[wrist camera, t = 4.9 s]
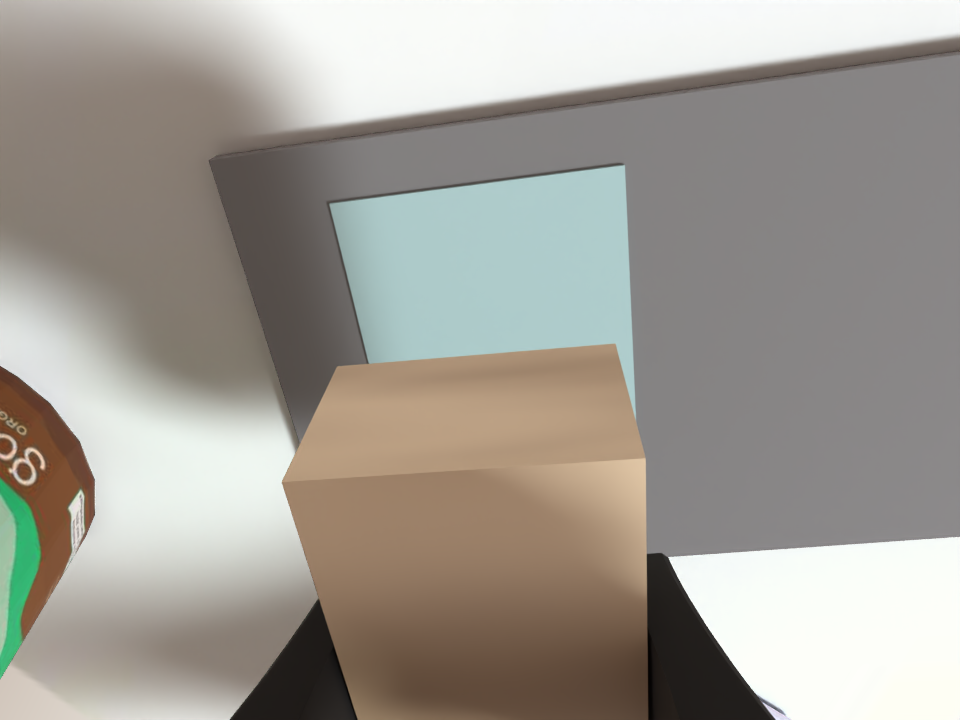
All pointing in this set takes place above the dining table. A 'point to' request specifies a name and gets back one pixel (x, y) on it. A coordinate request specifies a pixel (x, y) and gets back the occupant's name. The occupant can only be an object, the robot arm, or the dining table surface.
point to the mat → (662, 283)
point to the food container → (36, 507)
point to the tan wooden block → (480, 536)
